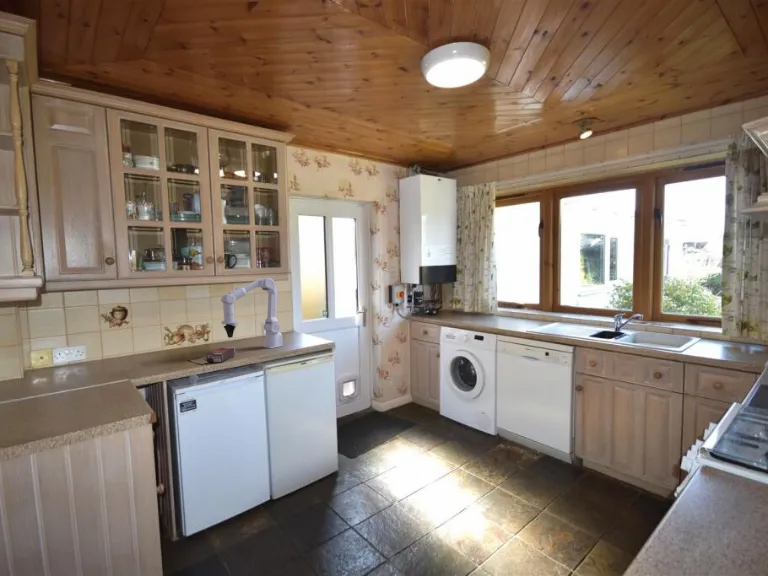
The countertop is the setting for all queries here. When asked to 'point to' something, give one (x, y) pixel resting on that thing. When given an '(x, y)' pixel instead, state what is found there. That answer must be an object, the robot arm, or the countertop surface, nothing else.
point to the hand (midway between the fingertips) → (230, 337)
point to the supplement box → (220, 354)
